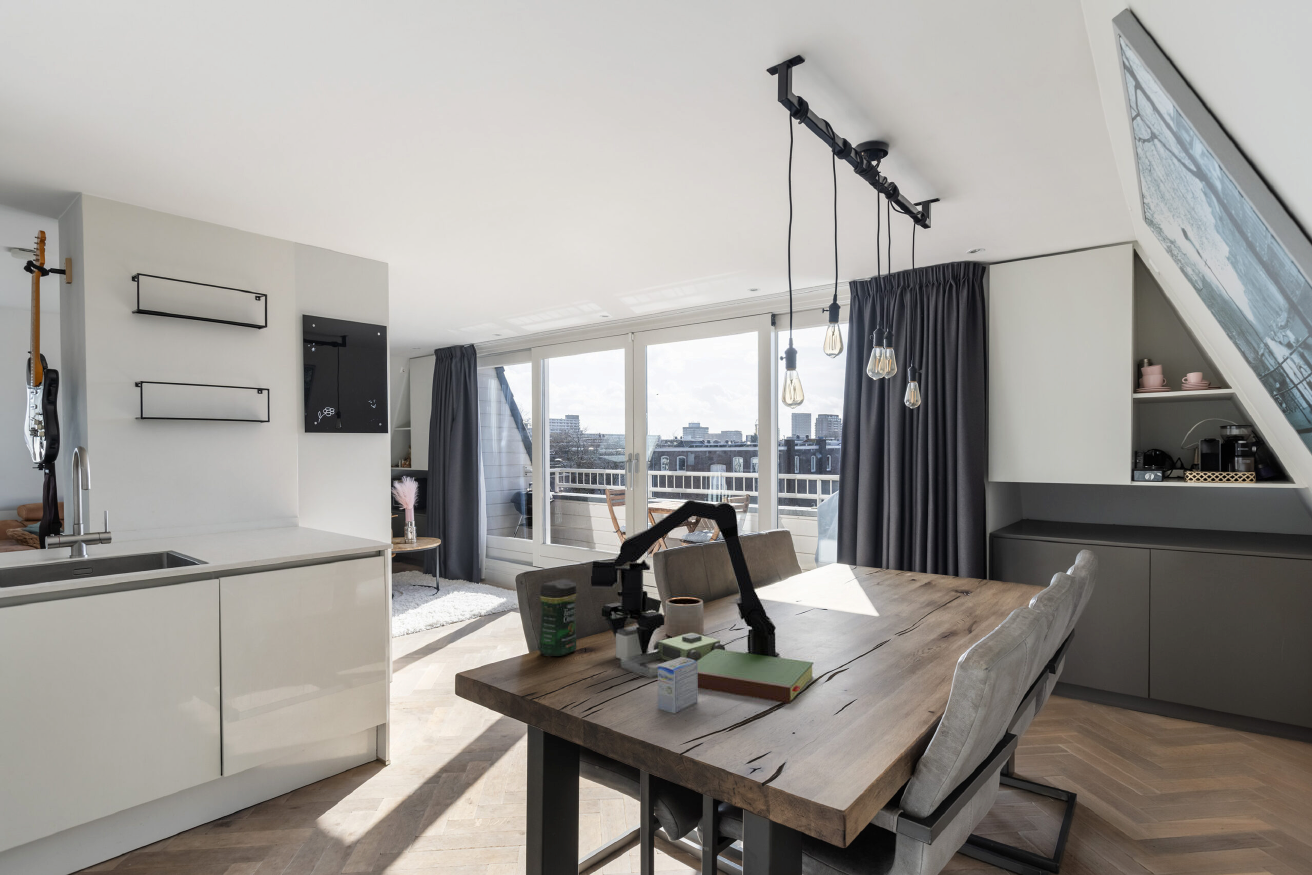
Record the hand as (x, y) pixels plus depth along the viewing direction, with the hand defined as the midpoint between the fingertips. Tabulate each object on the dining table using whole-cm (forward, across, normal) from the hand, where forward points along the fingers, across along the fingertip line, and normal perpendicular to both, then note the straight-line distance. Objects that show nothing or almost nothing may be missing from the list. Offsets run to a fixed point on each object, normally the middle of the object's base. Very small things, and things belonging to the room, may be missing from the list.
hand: (632, 648), depth 168 cm
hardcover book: (+2, -33, -7) cm, 34 cm away
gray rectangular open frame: (+2, -10, +2) cm, 11 cm away
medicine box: (+2, -32, +15) cm, 36 cm away
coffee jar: (+2, +16, +12) cm, 20 cm away
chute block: (+2, 0, 0) cm, 2 cm away
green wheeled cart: (+2, -10, -10) cm, 15 cm away
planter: (+2, +6, -24) cm, 25 cm away
